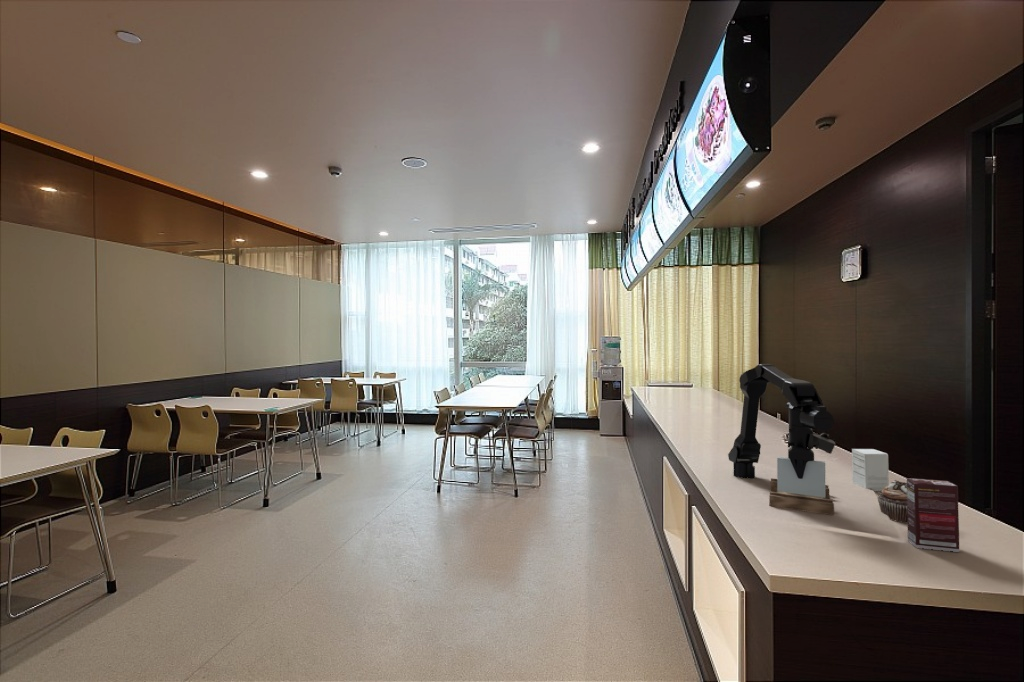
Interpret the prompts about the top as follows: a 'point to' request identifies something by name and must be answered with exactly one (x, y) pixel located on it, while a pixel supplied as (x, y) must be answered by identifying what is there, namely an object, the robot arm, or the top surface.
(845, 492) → the top surface
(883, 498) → the cupcake
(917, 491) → the supplement box
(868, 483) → the supplement box
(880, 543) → the top surface
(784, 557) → the top surface
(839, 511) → the top surface
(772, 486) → the rack
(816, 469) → the panel
